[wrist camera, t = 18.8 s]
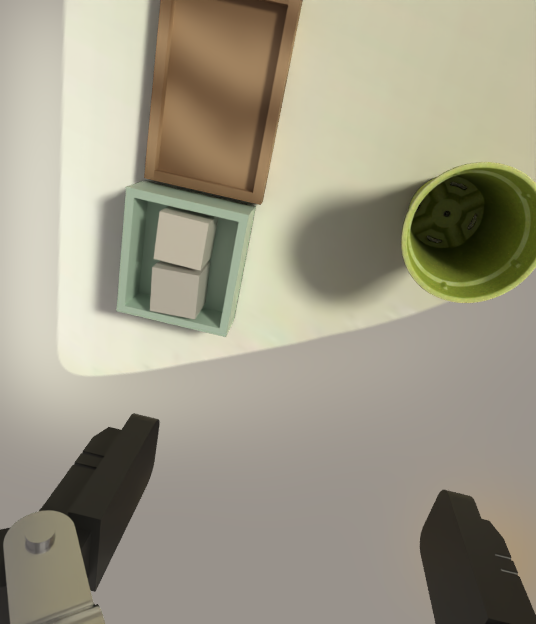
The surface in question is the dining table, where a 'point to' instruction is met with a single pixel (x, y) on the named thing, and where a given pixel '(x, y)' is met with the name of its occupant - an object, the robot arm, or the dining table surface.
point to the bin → (140, 259)
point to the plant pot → (472, 232)
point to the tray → (219, 93)
